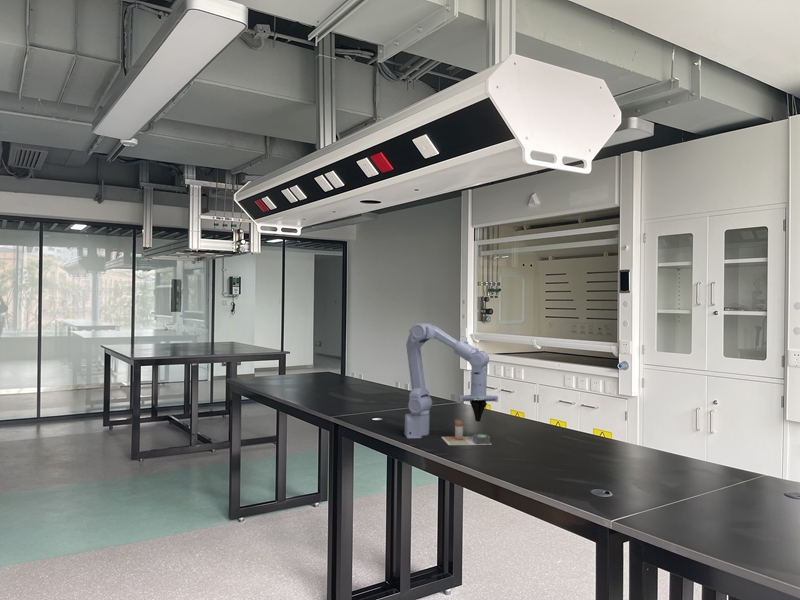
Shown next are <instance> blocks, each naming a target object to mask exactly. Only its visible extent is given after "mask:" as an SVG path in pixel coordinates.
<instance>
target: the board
mask: <svg viewBox="0 0 800 600" xmlns="http://www.w3.org/2000/svg"><path fill="white" fill-rule="evenodd" d="M441 439H442V440H443V441H444V442H445V443H446V444H447V446H476V445H477V446H478V445H479V446H482V445H484V446H486V445H488V446H491V445H493V444H492V443H491V442H490V444H476V443H475V442H474V441H473V436H463V440H456V439H455V436H441Z"/></svg>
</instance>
